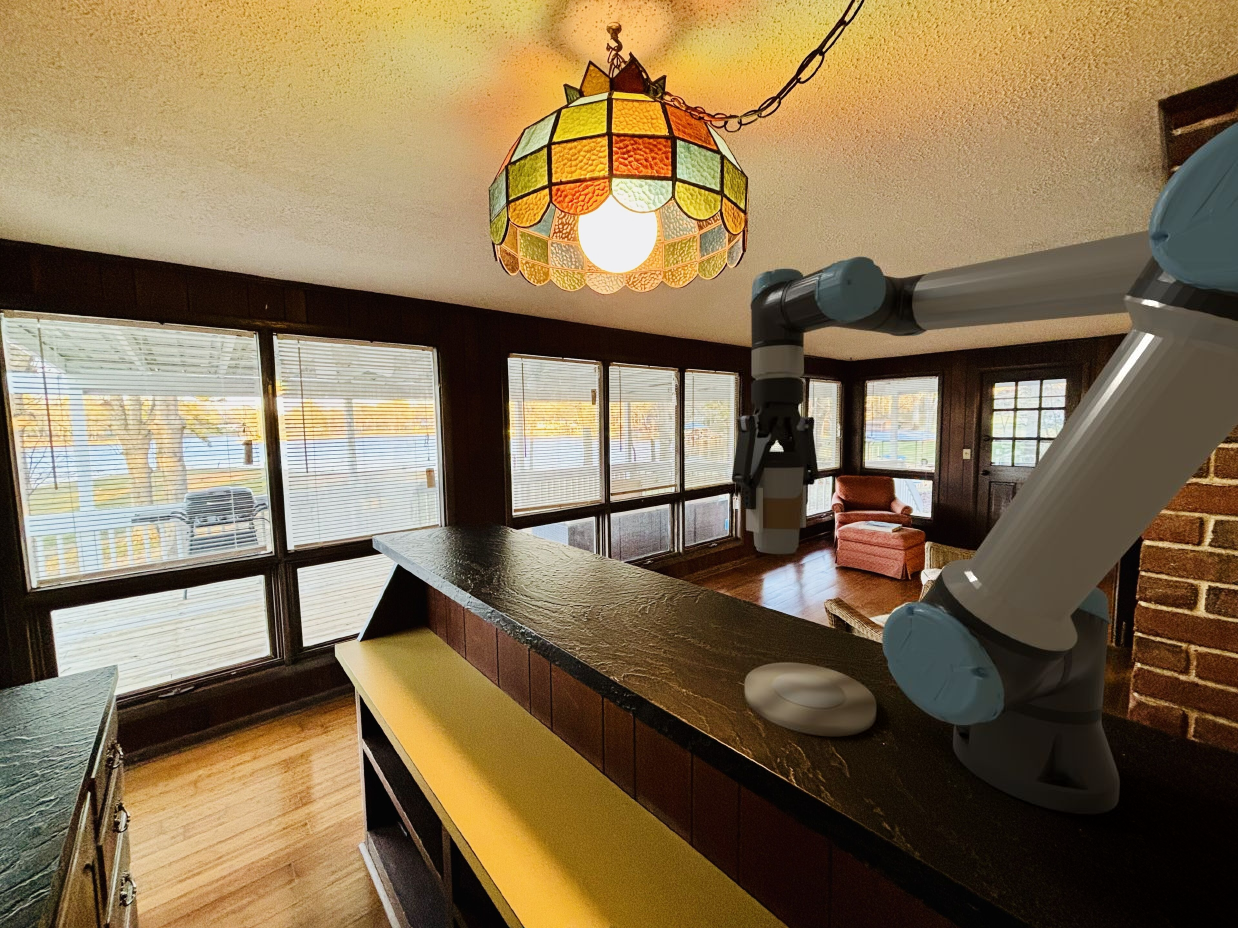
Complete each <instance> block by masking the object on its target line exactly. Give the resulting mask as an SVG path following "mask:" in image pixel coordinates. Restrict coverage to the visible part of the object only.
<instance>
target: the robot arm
mask: <svg viewBox="0 0 1238 928" xmlns="http://www.w3.org/2000/svg"><path fill="white" fill-rule="evenodd" d="M751 285H752V287H751V288H752V289H751V301H750V305H749V306H750V310H751V312H750V313H751V315H750V317H751V318H750V319H751V322H750V323H751V326H750V327H751V331H750V332H751V377H752V378H754V380H753V381H752V382H751V383H750V384H751V385H750V386H751V387H750V388H751V391H750V394H751V396H750V397H751V400H750V401H751V404H752V405H753V406H754V411H753V413H752V414H749V415H739V416H738V417H737V419H736V423H737V429H738V430H737V431H738V434H737V441H736V447H735V454H734V460H733V461H734V462H733V467H732V474H731V481H732V483H734V484H737V485H738V486H739V487H742V488H743V491H742V492H743V496H742V497H743V500H742V501H743V502H742V504H743V508H744V510H745V528H746V529H745V530H746V531H749V532H753V533H754V532H758V533H761V532H763V488H759V487H758V485H759V482H760V479H761V476H762V473H763V470H764V468H763V466H764V459H765V458H766V452H770V451H771V449H772V447H773V446H774V445H775V444H776V442H777V443H778V445H779V446H781V448H782V451H784V452H802V458H803V459H805V461H804V464H805V467H804V473H803V487H802V489H803V496H802V509H801V522H800V528H806V527H807V505H808V502H809V485H810V486H811V485H812V486H813V485H814V484H815V481H817V480H818V479H819V477H820V476H819V467H818V461H817V460H818V459H817V454H816V453H817V451H816V444H815V443H816V442H815V435H814V428H815V418H814V417H812V416H810V417H809V416H806V417H805V416H801V413H800V409H799V406H800V405H801V404H802V403H804V380H803V379H802V378H800V377H801V376H803V375H804V373H805V363H804V361H805V357H804V355H805V354H804V353H805V350H804V349H805V348H804V347H805V346H804V345H805V344H804V342H805V341H804V339H805V338H804V337H805V333H810V332H813V331H818V330H820V329H825V328H841V329H850V330H857V331H864V332H865V331H866V332H875V333H880V334H888V335H891V336H893V337H894V336H895V337H908V336H909V337H913V336H919V335H921V334H923V333H926V332H928V331H934V330H944V329H946V330H947V329H955V328H968V327H977V326H990V325H1000V324H1001V325H1002V324H1012V323H1013V324H1015V323H1024V322H1034V321H1037V322H1038V321H1046V320H1058V319H1068V318H1069V319H1071V318H1080V317H1081V318H1082V317H1092V316H1093V317H1094V316H1104V315H1114V314H1115V315H1116V314H1127V313H1128V315H1129V318H1130V321H1131V327H1130V330H1129V332H1128V333H1127V335H1125V337H1124V339H1123V340H1122V341H1121V343H1120V345H1119V346H1118V347H1117V349H1116V350H1115V352H1114V353H1113V355H1112V356H1111V357H1110V359H1109V360H1108V362H1106V364H1105V366H1104V367H1103V369H1102V370H1101V372H1100V373H1099V374H1098V376H1097V378H1096V379H1095V380H1094V381H1093V383H1092V385H1091V386H1090V387H1089V389H1088V390H1087V392H1086V393H1085V395H1083V397H1082V399H1081V400H1080V402H1079V403H1078V405H1077V406H1076V408H1075V409H1074V411H1073V412H1072V413H1071V415H1069V418H1068V419H1067V421H1066V422H1065V423H1064V425H1063V426H1062V428H1061V429H1060V431H1059V432H1058V434H1057V435H1056V437H1055V438H1054V439H1053V441H1052V442H1051V444H1050V445H1049V446H1048V448H1047V449H1046V451H1045V452H1044V454H1042V456H1041V458H1040V459H1039V460H1038V462H1037V464H1036V465H1035V466H1034V468H1033V469H1032V471H1031V472H1030V474H1029V475H1028V477H1027V478H1026V480H1025V481H1024V482H1023V484H1022V486H1020V488H1019V490H1018V491H1017V492H1016V493H1015V495H1014V497H1013V498H1012V500H1011V501H1010V503H1009V504H1008V506H1007V507H1006V508H1005V509H1004V511H1003V513H1001V515H1000V517H999V518H998V520H997V521H996V522H995V524H994V526H993V527H992V528H991V530H990V531H989V533H988V534H987V535H986V537H985V538H984V539H983V542H982V543H981V544H980V546H979V547H978V548H977V550H976V551H975V553H974V554H973V556H972V557H971V558H968V559H957V560H952V561H949V562H948V563H946V564H945V566H944V567H943V568H942V569H941V571H940V573H939V574H938V576H937V577H936V578H935V580H934V581H933V583H932V584H931V586H930V587H929V589H928V590H927V591H926V593H925V595H924V596H923V597H922V598H921V599H920V600H919V601H914V602H906V603H904V605H902V606H900V607H899V608H897V609H895V610H894V611H893V612H891V613H890V615H889V616H888V618H887V619H886V621H885V622H884V626H883V630H882V635H881V637H882V638H881V640H882V641H881V642H882V643H881V644H882V651H883V654H884V656H885V658H886V659H887V667H888V670H889V672H890V674H891V676H892V678H893V679H894V680H895V682H896V684H897V685H898V687H899V688H900V689H901V691H902V692H903V693H904V694H905V696H906V697H907V698H908V699H909V700H910V701H912V703H913V704H914V705H915V706H917V707H918V708H920V709H921V710H922V711H923V712H925V713H926V714H928V715H930V716H931V717H933V718H935V719H937V720H939V721H942V722H947V723H949V724H953V725H954V726H953V734H952V735H953V736H952V737H953V738H952V749H953V752H954V754H955V755H956V758H957V759H958V760H959V761H960V762H961V763H962V764H963V766H964V767H966V769H968V771H970V772H971V773H972V774H974V775H975V776H976V777H978V778H979V779H981V780H982V781H983V782H985V783H987V784H989V785H990V786H992V787H993V788H995V789H997V790H1000V791H1002V792H1004V793H1005V794H1007V795H1010V796H1011V797H1013V798H1017V799H1018V800H1019V799H1020V800H1022V801H1024V802H1027V803H1030V804H1033V805H1035V806H1039V807H1043V808H1045V809H1050V810H1053V811H1058V812H1061V813H1062V812H1063V813H1069V814H1077V815H1097V814H1098V815H1099V814H1104V813H1108V812H1110V811H1112V810H1113V809H1115V807H1117V806H1118V803H1119V800H1120V799H1119V798H1120V785H1121V783H1120V781H1121V780H1120V776H1119V771H1118V768H1117V766H1116V763H1115V760H1114V757H1113V755H1112V752H1111V748H1110V746H1109V742H1108V740H1107V737H1106V734H1105V730H1104V728H1103V725H1102V715H1103V701H1104V692H1105V691H1104V690H1105V677H1106V676H1105V675H1106V664H1107V653H1108V651H1107V650H1108V639H1109V638H1108V637H1109V627H1110V625H1111V623H1112V620H1111V618H1110V616H1109V615H1110V613H1109V612H1110V611H1109V598H1108V596H1107V594H1106V593H1105V592H1104V591H1103V590H1102V589H1100V588H1098V587H1097V586H1098V585H1099V584H1100V582H1101V581H1103V579H1104V578H1105V577H1106V575H1107V574H1108V573H1109V572H1110V571H1112V569H1113V567H1115V566H1116V564H1117V563H1118V562H1119V561H1120V560H1121V558H1122V557H1123V556H1124V555H1125V554H1126V553H1127V551H1129V549H1130V548H1131V547H1132V546H1133V545H1134V544H1135V543H1136V541H1137V540H1139V538H1140V537H1141V536H1142V535H1143V533H1145V531H1146V530H1147V529H1148V528H1149V526H1150V525H1151V524H1152V523H1153V522H1154V521H1155V519H1156V518H1157V517H1158V516H1159V515H1160V514H1161V513H1162V511H1163V510H1164V509H1166V508H1167V506H1168V504H1170V502H1171V501H1172V500H1173V499H1174V498H1175V496H1177V494H1178V493H1179V492H1180V491H1181V490H1182V489H1183V487H1184V486H1185V485H1187V483H1188V482H1189V481H1190V480H1191V478H1192V477H1193V476H1194V475H1195V474H1196V472H1197V471H1198V470H1199V469H1200V468H1201V467H1202V465H1204V463H1205V462H1206V461H1207V460H1208V459H1209V458H1210V457H1211V455H1213V454H1214V452H1215V451H1216V450H1217V449H1218V448H1219V446H1220V445H1221V444H1222V443H1223V442H1224V440H1225V439H1227V437H1228V436H1229V435H1230V433H1231V432H1232V431H1233V430H1234V429H1235V428H1236V426H1238V122H1235V123H1234V124H1232V125H1231V126H1229V127H1227V128H1226V129H1224V130H1223V131H1222V132H1220V133H1218V134H1217V135H1215V136H1214V137H1212V138H1211V139H1210V140H1208V141H1207V142H1206V143H1205V144H1204V145H1202V146H1201V147H1200V148H1199V149H1197V150H1196V151H1195V152H1194V153H1192V155H1191V156H1190V157H1188V158H1187V159H1186V160H1185V161H1184V163H1182V165H1180V166H1179V167H1178V169H1177V170H1176V171H1175V172H1174V173H1173V175H1171V177H1170V178H1169V180H1168V181H1167V183H1166V184H1165V186H1164V187H1163V188H1162V190H1161V192H1160V193H1159V195H1158V197H1157V199H1156V202H1155V203H1154V206H1153V208H1152V211H1151V215H1150V219H1149V224H1148V230H1141V231H1138V232H1137V231H1136V232H1133V233H1128V234H1121V235H1116V236H1111V237H1107V238H1102V239H1101V238H1100V239H1097V240H1096V239H1095V240H1091V241H1086V242H1081V243H1075V244H1070V245H1065V246H1061V247H1055V248H1054V247H1053V248H1049V249H1044V250H1039V251H1034V252H1029V253H1024V254H1017V255H1014V256H1008V257H1003V258H998V259H994V260H988V261H983V262H977V263H973V264H967V265H962V266H957V267H952V268H946V269H942V270H936V271H931V272H928V273H922V274H916V275H910V276H907V277H895V276H889V275H885V274H884V273H883V270H882V269H881V267H880V266H879V265H876V264H875V262H874V260H873V259H872V258H870V257H867V256H856V257H851V258H849V259H848V258H847V259H846V260H845V259H843V260H839V261H837V262H833V263H831V264H830V265H828V266H826V267H824V268H821V269H819V270H816V271H814V272H811V273H809V274H807V275H804V274H803V273H802V272H801V271H800V270H797V269H793V268H777V269H773V270H767V271H764V272H762V273H760V274H758V275H757V276H756V277H755V278H754V280H753V281H752V284H751ZM751 477H752V478H751Z"/></svg>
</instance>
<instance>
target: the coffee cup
mask: <svg viewBox="0 0 1238 928" xmlns="http://www.w3.org/2000/svg"><path fill="white" fill-rule="evenodd" d="M804 461H805V459H803V458H802V452H784V451H783V450H782V451H777V450H775V451H771V450H770V452H766V458H765V459H764V466H763V468H764V470H763V473H762V476H761V479H760V482H759V485H758V487H759V488H763V532H761V533H758V532H753V543H754V546H755V547H756V550H757V551H758V552H761V553H765V554H772V555H788V554H794V553H797V549H798V548H799V541H800V540H799V539H800V532H801V527H800V522H801V509H802V496H803V489H802V487H803V473H804V467H805V464H804ZM751 478H752V477H751Z"/></svg>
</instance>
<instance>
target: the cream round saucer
mask: <svg viewBox="0 0 1238 928" xmlns="http://www.w3.org/2000/svg"><path fill="white" fill-rule="evenodd" d="M744 697H745V700H746V703H747V704H748V705H749V706H750V707H751V709H753V710H754V712H756V713H757V714H759V715H760V716H761V717H763V718H765V719H766V720H767V721H769V722H772V723H774V724H776V725H778V726H780V727H783V728H785V729H788V730H791V731H793V732H794V731H795V732H798V733H802V734H806V735H807V734H808V735H813V736H819V737H820V736H821V737H845V736H846V737H847V736H852V735H857V734H860V733H862V732H864V731H866V730H868V729H870V728H871V727H872V726H873V725H874V723H875V721H876V719H877V700H876V698H875V696H874V695H873V693H872V692H871V691H870V690H869V689H868V688H867V687H866V686H865V685H863V684H862V683H861V682H859V681H858V680H856V679H855V678H852V677H850V676H848V675H846V674H845V673H842V672H839V671H836V670H833V669H830V668H827V667H822V666H820V665H819V666H818V665H814V664H808V663H802V662H801V663H799V662H774V663H768V664H763V665H761V666H758V667H756V668H754V669H752V670H750V672H749V673H748V674H746V677H745V679H744Z"/></svg>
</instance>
